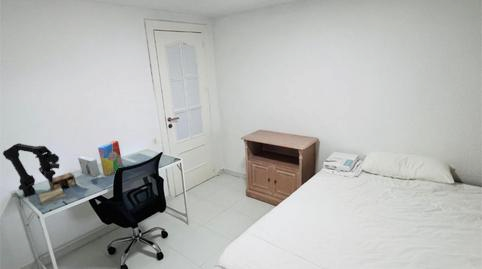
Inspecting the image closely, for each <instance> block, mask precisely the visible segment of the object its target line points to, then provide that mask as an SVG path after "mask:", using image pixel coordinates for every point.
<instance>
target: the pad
mask: <svg viewBox="0 0 482 269" xmlns="http://www.w3.org/2000/svg"><path fill="white" fill-rule="evenodd" d="M63 194H64V196H63V197H60V198H57V199H55V200H52V201H49V202H46V203H43V204H42V203H41V201H39V203H40V205H41V206H42V205H43V206H45V204H46V205H48V204H51V203H53V202H57V201H58V200H59V201H60V200H61V199H64V198H66V197H68V195H67V194H66V193H65V192H63Z"/></svg>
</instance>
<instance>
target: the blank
mask: <svg viewBox="0 0 482 269" xmlns="http://www.w3.org/2000/svg"><path fill="white" fill-rule="evenodd" d="M63 193H64V190H63V188H59V189H56V190H53V191H52V190H50V191H47V192H44V193H41V194H38V197H39V198H38V199H39V202H41V203H42V204H43V203H46V202H49V201H52V200H55V199H57V198H60V197H63V196H64V194H63Z"/></svg>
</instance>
